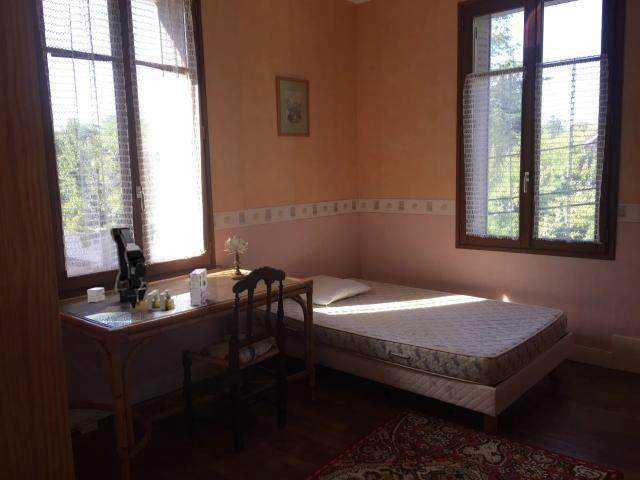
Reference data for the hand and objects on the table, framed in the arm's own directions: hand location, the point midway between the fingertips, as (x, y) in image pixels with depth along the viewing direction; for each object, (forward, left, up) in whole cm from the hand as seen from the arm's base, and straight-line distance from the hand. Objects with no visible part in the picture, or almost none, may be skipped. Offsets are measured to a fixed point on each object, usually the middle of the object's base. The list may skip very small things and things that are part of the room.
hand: (137, 306), depth 261 cm
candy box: (-14, +27, -2) cm, 31 cm away
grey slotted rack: (0, 0, -2) cm, 2 cm away
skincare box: (-20, -29, -2) cm, 35 cm away
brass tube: (0, +7, -1) cm, 7 cm away
